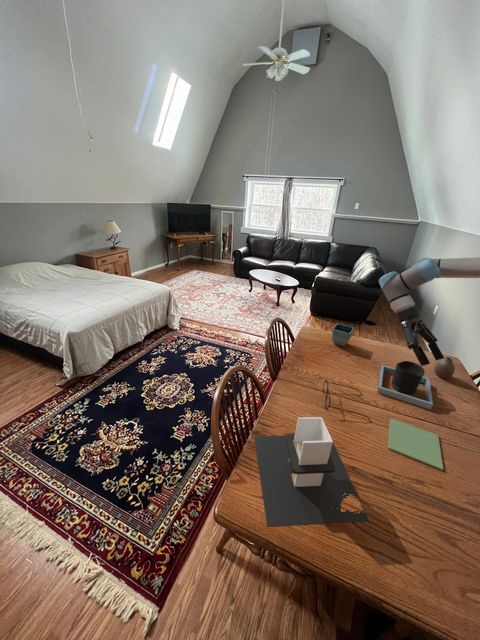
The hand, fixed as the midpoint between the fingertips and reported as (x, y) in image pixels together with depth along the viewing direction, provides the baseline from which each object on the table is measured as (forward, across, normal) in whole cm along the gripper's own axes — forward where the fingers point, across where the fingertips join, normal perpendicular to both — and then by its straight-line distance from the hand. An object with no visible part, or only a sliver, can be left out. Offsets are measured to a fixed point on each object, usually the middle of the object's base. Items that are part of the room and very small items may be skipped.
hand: (433, 362), depth 97 cm
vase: (+7, -26, -10) cm, 29 cm away
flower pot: (-21, -10, -40) cm, 46 cm away
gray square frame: (+6, -3, -16) cm, 17 cm away
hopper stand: (+16, +58, -21) cm, 64 cm away
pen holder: (+6, -3, -16) cm, 17 cm away
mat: (+20, +21, -8) cm, 31 cm away
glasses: (+4, +25, -24) cm, 35 cm away
